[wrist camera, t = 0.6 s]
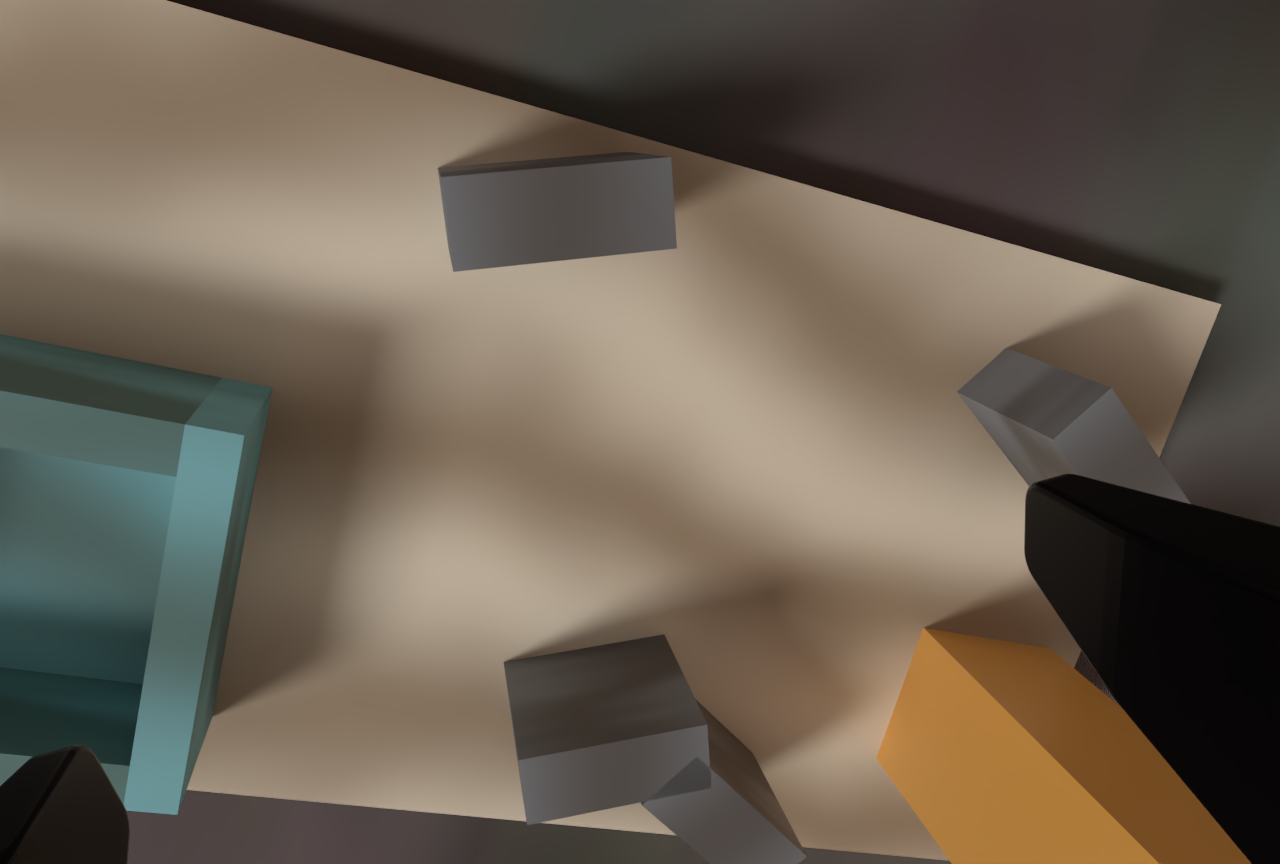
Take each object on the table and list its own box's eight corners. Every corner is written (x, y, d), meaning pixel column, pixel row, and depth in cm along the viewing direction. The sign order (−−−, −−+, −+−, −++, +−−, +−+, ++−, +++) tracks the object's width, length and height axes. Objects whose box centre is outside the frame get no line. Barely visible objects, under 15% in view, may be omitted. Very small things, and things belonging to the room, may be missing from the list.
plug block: (1000, 773, 28) (1244, 1046, 20) (875, 758, 27) (1079, 1041, 19) (1050, 648, 27) (1328, 879, 19) (923, 627, 26) (1158, 863, 18)
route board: (976, 841, 30) (1078, 973, 26) (-173, 727, 22) (-331, 887, 18) (1192, 298, 26) (1359, 335, 22) (-109, -77, 18) (-290, -146, 14)
